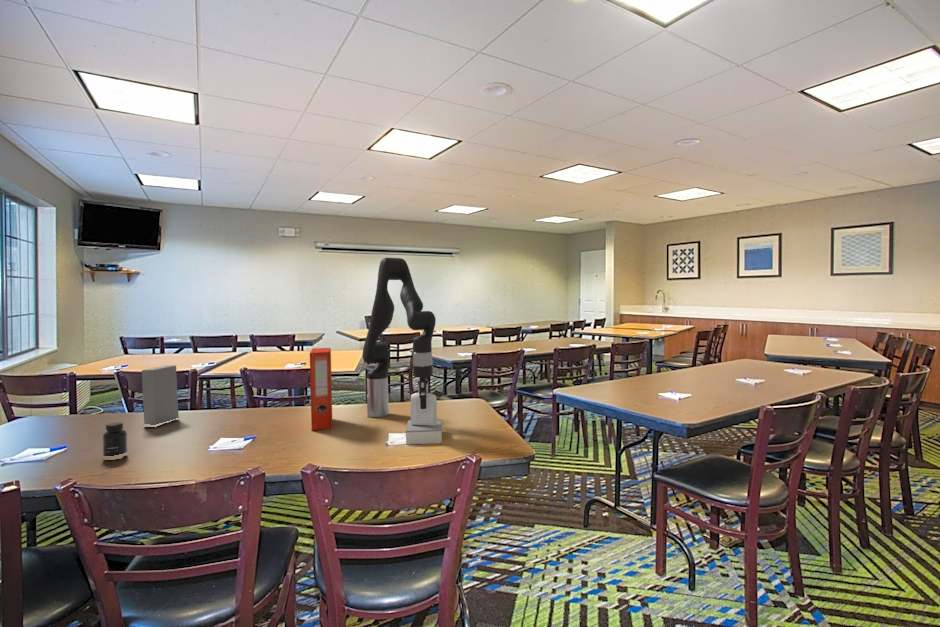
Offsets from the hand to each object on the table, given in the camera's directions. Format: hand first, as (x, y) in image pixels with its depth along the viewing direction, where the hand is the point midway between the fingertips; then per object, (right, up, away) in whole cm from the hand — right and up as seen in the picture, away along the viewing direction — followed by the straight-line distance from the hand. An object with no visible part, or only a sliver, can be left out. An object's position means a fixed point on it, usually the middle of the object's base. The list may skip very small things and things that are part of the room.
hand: (423, 406), depth 184 cm
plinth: (0, -12, +1) cm, 12 cm away
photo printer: (0, -7, 0) cm, 7 cm away
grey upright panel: (-119, -14, +30) cm, 123 cm away
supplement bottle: (-106, -15, -15) cm, 108 cm away
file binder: (-45, -12, +23) cm, 52 cm away
